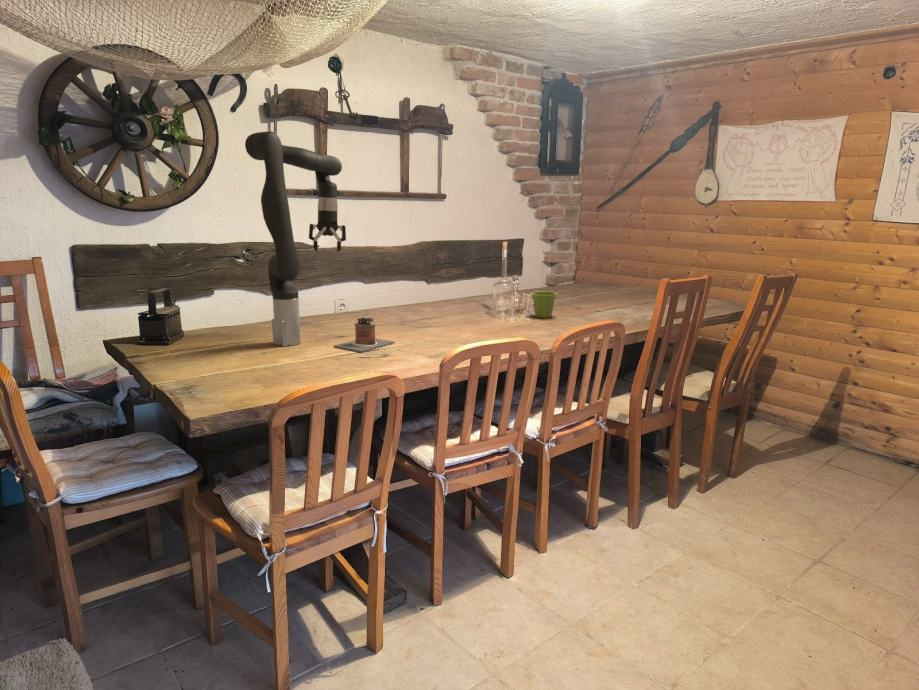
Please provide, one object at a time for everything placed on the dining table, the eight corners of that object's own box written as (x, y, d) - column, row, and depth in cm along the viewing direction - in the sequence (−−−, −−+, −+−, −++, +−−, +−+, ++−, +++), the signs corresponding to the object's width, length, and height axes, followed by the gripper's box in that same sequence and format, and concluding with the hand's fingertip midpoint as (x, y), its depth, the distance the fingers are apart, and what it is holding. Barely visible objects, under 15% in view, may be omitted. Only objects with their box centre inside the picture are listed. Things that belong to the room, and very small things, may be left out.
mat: (361, 352, 222) (361, 351, 222) (333, 347, 230) (333, 345, 230) (395, 343, 236) (394, 341, 236) (367, 338, 244) (367, 336, 244)
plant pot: (542, 313, 298) (543, 290, 295) (561, 317, 289) (562, 293, 286) (524, 316, 290) (525, 292, 288) (543, 320, 282) (544, 295, 279)
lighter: (353, 343, 232) (352, 317, 230) (357, 341, 236) (356, 315, 233) (373, 345, 230) (372, 318, 228) (377, 343, 233) (376, 317, 231)
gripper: (309, 208, 240) (309, 251, 243) (347, 210, 244) (346, 252, 248) (308, 208, 247) (308, 249, 250) (344, 210, 251) (344, 251, 255)
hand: (327, 251), depth 249 cm, fingers open, 8 cm apart
